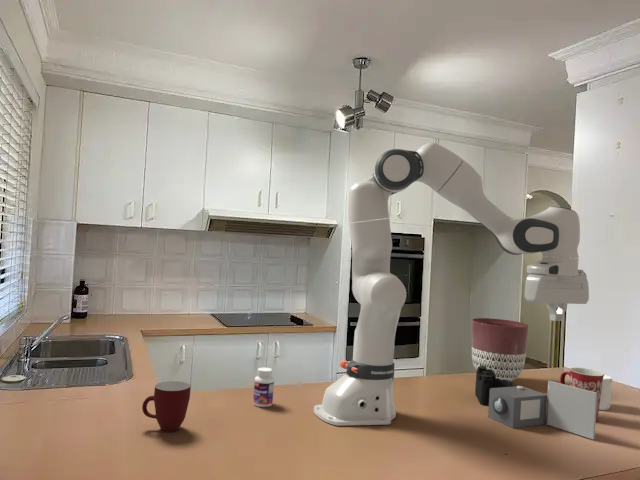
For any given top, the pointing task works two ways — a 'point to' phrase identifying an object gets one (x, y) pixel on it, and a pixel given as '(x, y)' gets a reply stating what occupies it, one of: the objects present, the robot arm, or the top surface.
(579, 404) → the door
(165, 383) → the mug
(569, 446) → the top surface
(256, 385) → the pill bottle
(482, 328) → the planter
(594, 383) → the mug
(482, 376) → the camera
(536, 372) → the top surface
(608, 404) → the cup
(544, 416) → the housing
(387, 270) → the robot arm
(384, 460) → the top surface
